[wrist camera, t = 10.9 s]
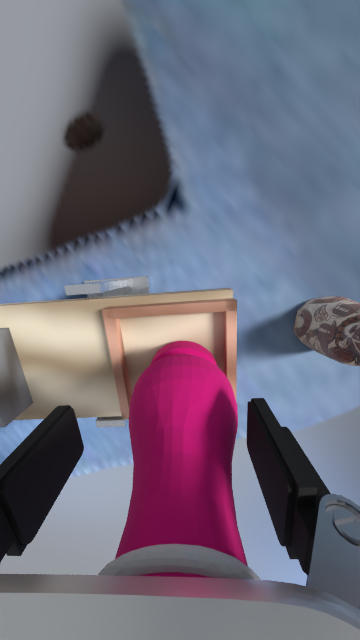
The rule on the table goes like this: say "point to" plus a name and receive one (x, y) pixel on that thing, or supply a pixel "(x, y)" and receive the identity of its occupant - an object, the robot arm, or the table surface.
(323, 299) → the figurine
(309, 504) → the robot arm
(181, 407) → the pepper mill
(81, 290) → the fulcrum
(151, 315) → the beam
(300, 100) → the table surface
